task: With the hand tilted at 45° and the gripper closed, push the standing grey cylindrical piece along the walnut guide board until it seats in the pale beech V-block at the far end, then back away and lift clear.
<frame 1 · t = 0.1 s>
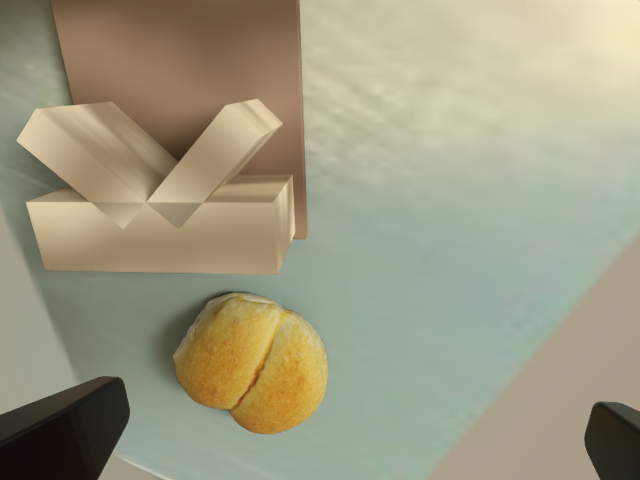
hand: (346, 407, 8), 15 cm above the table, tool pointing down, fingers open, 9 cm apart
bread roll: (256, 349, 26), on the table
v block: (191, 162, 21), resting on guide board
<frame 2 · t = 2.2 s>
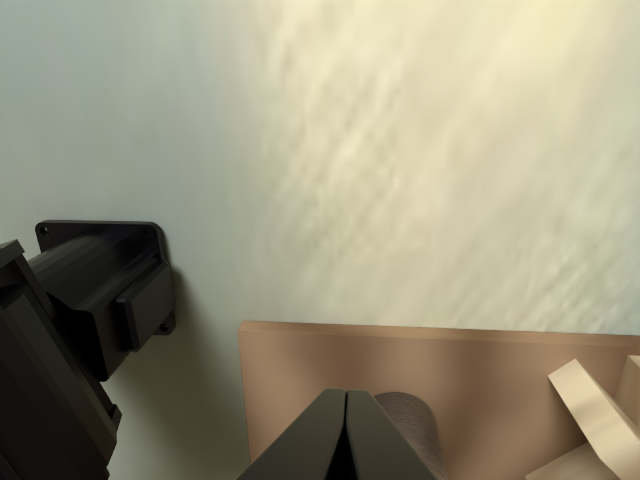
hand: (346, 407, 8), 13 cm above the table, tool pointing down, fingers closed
v block: (592, 432, 22), resting on guide board
guide board: (446, 410, 24), on the table
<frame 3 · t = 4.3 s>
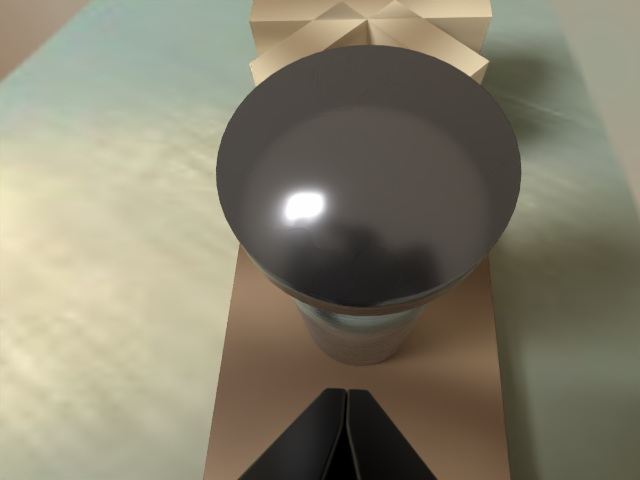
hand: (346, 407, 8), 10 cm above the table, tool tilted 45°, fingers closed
grey cylindrical piece: (359, 264, 12), point 7 cm above the table, slide at 0.0 cm
v block: (364, 112, 22), resting on guide board
guide board: (359, 254, 20), on the table
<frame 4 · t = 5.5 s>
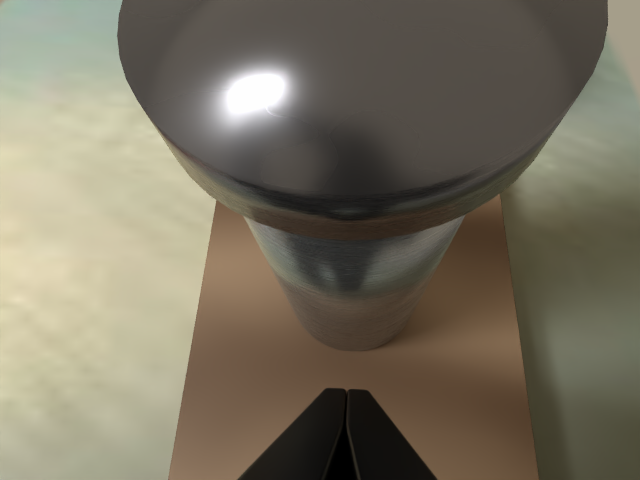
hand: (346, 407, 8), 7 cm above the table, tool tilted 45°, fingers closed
grey cylindrical piece: (352, 215, 10), point 7 cm above the table, slide at 0.0 cm
guide board: (354, 224, 17), on the table
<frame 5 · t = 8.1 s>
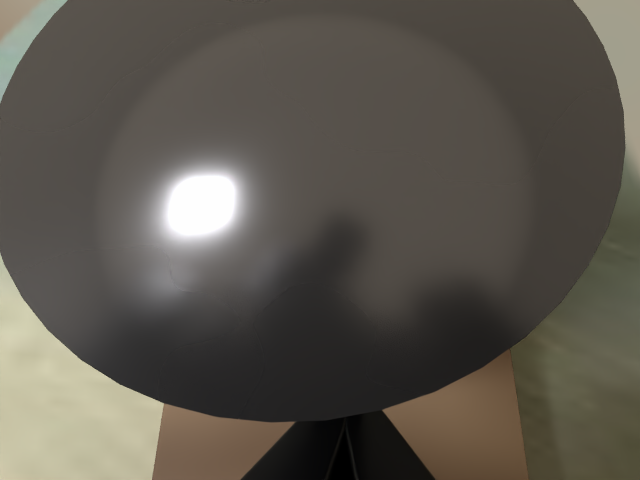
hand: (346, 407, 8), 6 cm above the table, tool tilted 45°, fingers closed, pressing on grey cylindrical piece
grey cylindrical piece: (327, 278, 9), point 7 cm above the table, slide at 8.0 cm, touching gripper, v block
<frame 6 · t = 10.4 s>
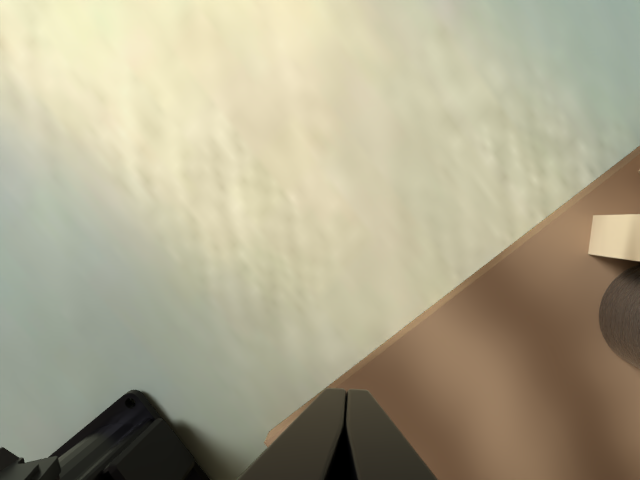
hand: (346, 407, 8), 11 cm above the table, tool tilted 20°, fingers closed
guide board: (542, 378, 19), on the table
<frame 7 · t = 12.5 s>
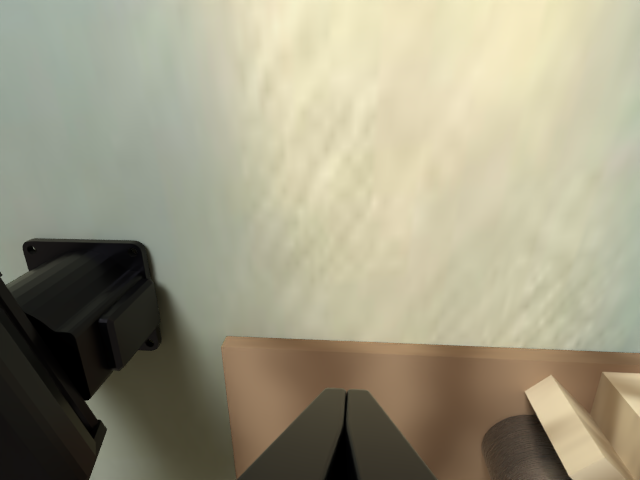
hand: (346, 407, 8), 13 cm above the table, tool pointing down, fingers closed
v block: (569, 445, 23), resting on guide board
guide board: (427, 423, 24), on the table
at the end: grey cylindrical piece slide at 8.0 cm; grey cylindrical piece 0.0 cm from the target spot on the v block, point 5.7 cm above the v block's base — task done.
